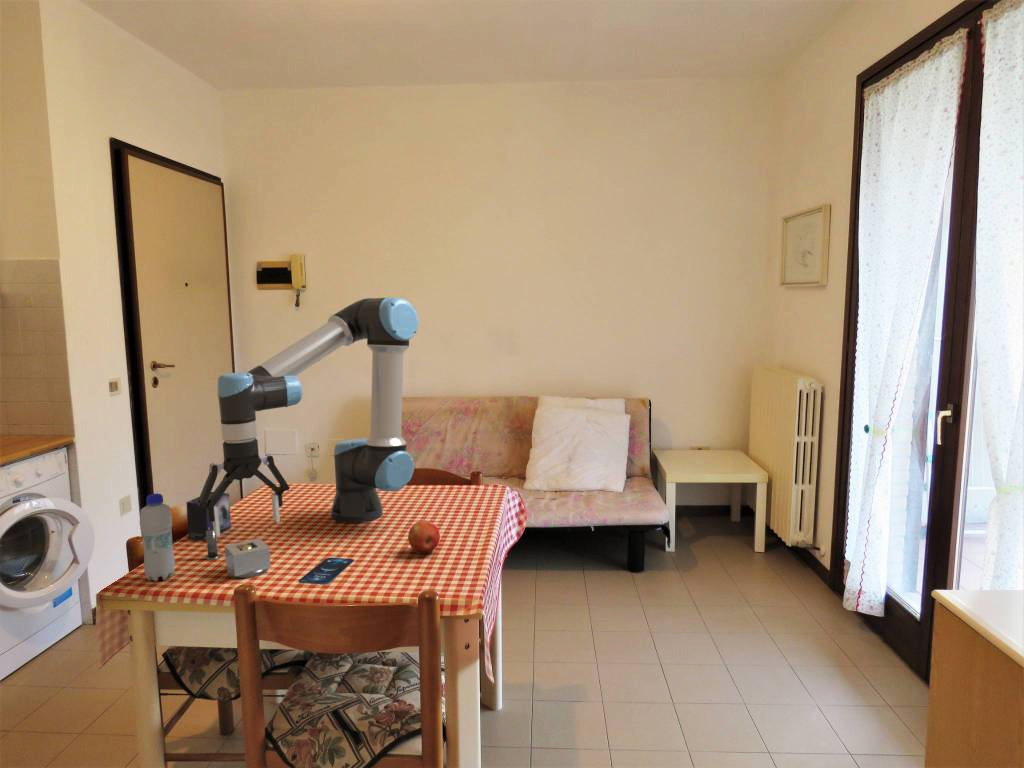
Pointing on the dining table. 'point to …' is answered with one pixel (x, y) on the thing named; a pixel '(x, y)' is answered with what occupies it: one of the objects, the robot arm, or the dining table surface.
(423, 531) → the apple
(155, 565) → the bottle
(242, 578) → the round stand base
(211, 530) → the stand rod
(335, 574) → the smartphone
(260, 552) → the grey hollow block
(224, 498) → the small box
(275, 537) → the dining table surface
